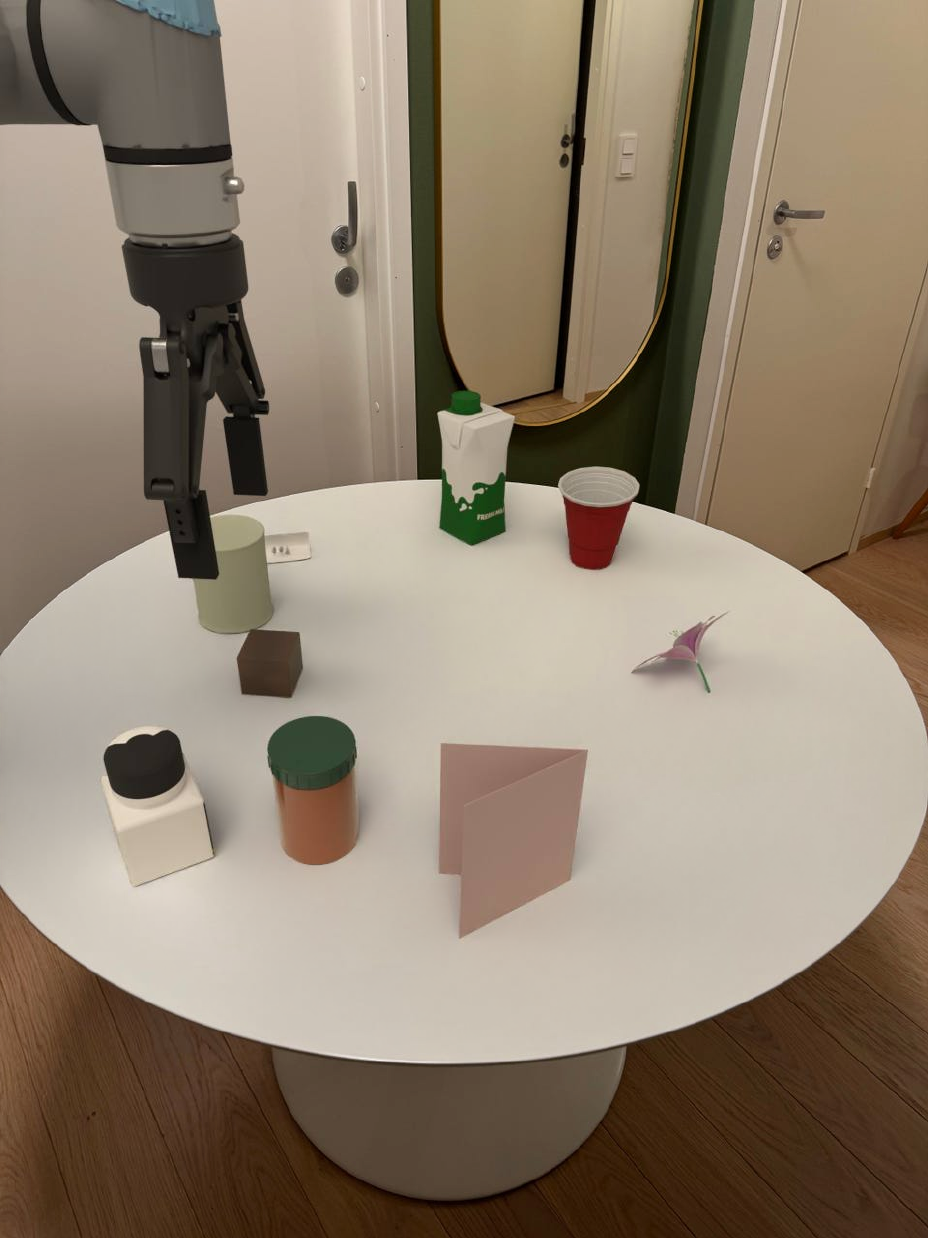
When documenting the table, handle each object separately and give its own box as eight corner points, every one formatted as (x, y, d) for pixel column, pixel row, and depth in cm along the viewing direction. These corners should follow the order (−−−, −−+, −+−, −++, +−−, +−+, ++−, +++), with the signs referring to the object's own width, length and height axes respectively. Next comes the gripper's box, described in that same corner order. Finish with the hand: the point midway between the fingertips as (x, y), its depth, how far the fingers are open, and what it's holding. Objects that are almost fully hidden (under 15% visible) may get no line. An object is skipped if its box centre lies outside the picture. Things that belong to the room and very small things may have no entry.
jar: (272, 862, 77) (259, 773, 71) (291, 804, 82) (281, 718, 77) (351, 868, 76) (345, 779, 70) (364, 809, 82) (360, 723, 76)
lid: (258, 787, 71) (256, 770, 70) (280, 728, 78) (279, 712, 77) (348, 793, 71) (347, 777, 70) (363, 733, 77) (362, 718, 76)
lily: (721, 657, 106) (697, 585, 104) (773, 680, 95) (747, 601, 92) (634, 698, 105) (607, 627, 103) (676, 727, 93) (647, 648, 91)
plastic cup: (535, 557, 123) (541, 479, 117) (585, 534, 130) (594, 459, 123) (593, 588, 117) (603, 507, 110) (644, 562, 123) (656, 484, 116)
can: (200, 596, 112) (187, 512, 106) (273, 591, 114) (264, 508, 107) (195, 637, 105) (180, 549, 98) (273, 631, 106) (264, 544, 100)
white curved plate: (311, 559, 121) (310, 540, 119) (252, 565, 119) (250, 545, 118) (309, 547, 124) (307, 528, 122) (251, 552, 122) (249, 533, 121)
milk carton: (473, 511, 135) (477, 384, 124) (514, 532, 130) (523, 401, 118) (430, 528, 130) (430, 397, 119) (471, 550, 124) (476, 416, 113)
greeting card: (569, 871, 77) (587, 742, 68) (575, 944, 70) (595, 811, 62) (439, 865, 77) (441, 735, 69) (433, 937, 71) (435, 804, 62)
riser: (241, 694, 96) (236, 657, 93) (255, 664, 101) (250, 628, 98) (291, 698, 96) (287, 661, 93) (303, 667, 100) (299, 631, 98)
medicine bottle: (216, 858, 77) (196, 756, 70) (132, 889, 74) (103, 786, 67) (193, 806, 82) (173, 706, 75) (114, 833, 79) (86, 732, 72)
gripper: (172, 279, 45) (227, 623, 57) (286, 205, 66) (309, 467, 77) (30, 275, 45) (114, 617, 57) (188, 203, 66) (226, 464, 78)
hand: (227, 531), depth 67 cm, fingers open, 13 cm apart
